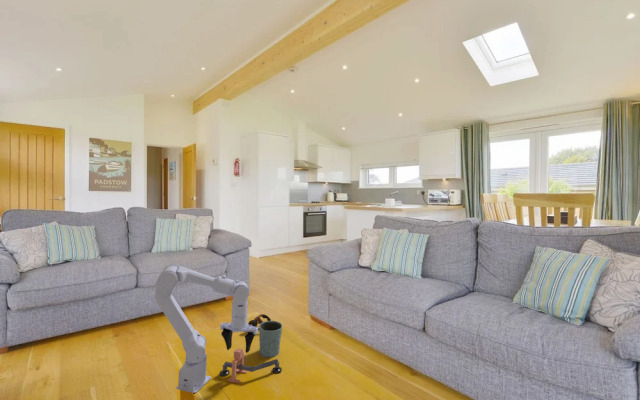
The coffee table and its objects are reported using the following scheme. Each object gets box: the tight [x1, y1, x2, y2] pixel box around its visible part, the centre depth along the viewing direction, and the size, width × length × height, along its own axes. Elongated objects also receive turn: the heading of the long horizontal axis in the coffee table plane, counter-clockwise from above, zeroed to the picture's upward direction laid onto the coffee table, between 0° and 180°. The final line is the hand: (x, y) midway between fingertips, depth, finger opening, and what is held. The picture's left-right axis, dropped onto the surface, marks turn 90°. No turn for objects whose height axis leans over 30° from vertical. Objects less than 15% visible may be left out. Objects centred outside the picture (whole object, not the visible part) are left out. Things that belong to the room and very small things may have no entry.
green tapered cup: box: [258, 320, 283, 358], centre depth 135 cm, size 10×10×12 cm
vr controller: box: [247, 313, 272, 327], centre depth 156 cm, size 12×9×8 cm
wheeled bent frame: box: [219, 358, 282, 377], centre depth 119 cm, size 12×22×4 cm, turn 76°
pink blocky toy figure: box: [226, 348, 248, 384], centre depth 116 cm, size 4×7×10 cm, turn 168°
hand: (238, 350), depth 116 cm, fingers open, 7 cm apart
